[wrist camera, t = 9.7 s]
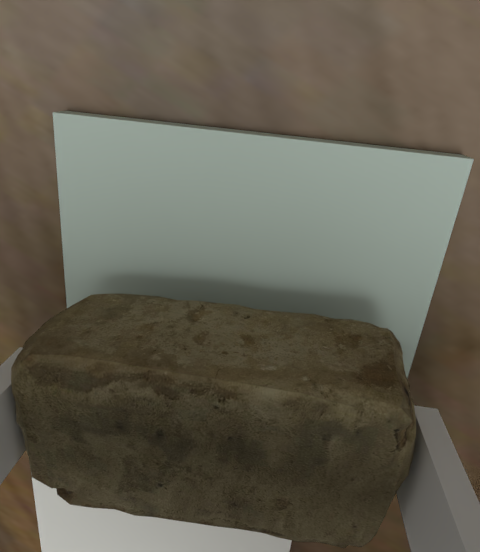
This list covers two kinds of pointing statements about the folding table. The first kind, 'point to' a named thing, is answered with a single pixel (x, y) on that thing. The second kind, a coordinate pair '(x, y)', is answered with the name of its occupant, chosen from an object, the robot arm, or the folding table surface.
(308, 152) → the sage pad
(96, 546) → the board
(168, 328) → the stone block
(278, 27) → the folding table surface
